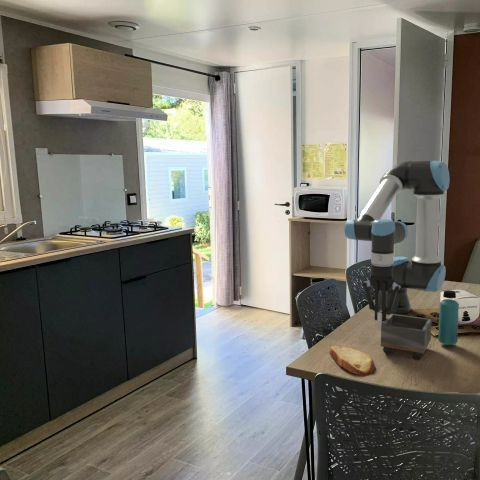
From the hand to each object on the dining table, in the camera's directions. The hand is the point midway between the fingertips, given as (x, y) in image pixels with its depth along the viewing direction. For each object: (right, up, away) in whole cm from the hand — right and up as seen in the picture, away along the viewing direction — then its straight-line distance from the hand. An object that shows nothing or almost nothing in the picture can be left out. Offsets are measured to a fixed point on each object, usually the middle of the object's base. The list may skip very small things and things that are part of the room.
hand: (380, 329), depth 177 cm
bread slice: (-13, -9, -12) cm, 20 cm away
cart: (+8, -7, -3) cm, 11 cm away
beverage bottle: (+24, -6, +1) cm, 25 cm away
